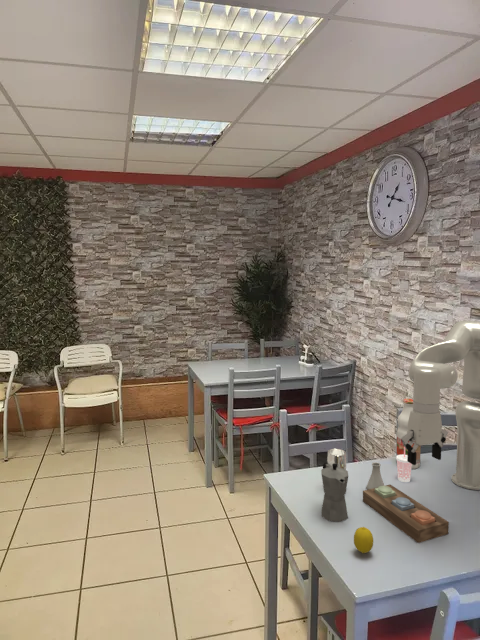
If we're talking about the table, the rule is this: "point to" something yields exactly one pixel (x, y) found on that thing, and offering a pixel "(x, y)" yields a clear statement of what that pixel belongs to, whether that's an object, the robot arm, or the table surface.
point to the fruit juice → (402, 431)
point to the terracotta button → (423, 517)
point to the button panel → (406, 516)
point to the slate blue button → (402, 504)
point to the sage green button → (385, 491)
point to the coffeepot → (334, 493)
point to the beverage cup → (403, 468)
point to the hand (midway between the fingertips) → (424, 460)
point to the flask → (375, 477)
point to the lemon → (363, 540)
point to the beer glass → (337, 458)
